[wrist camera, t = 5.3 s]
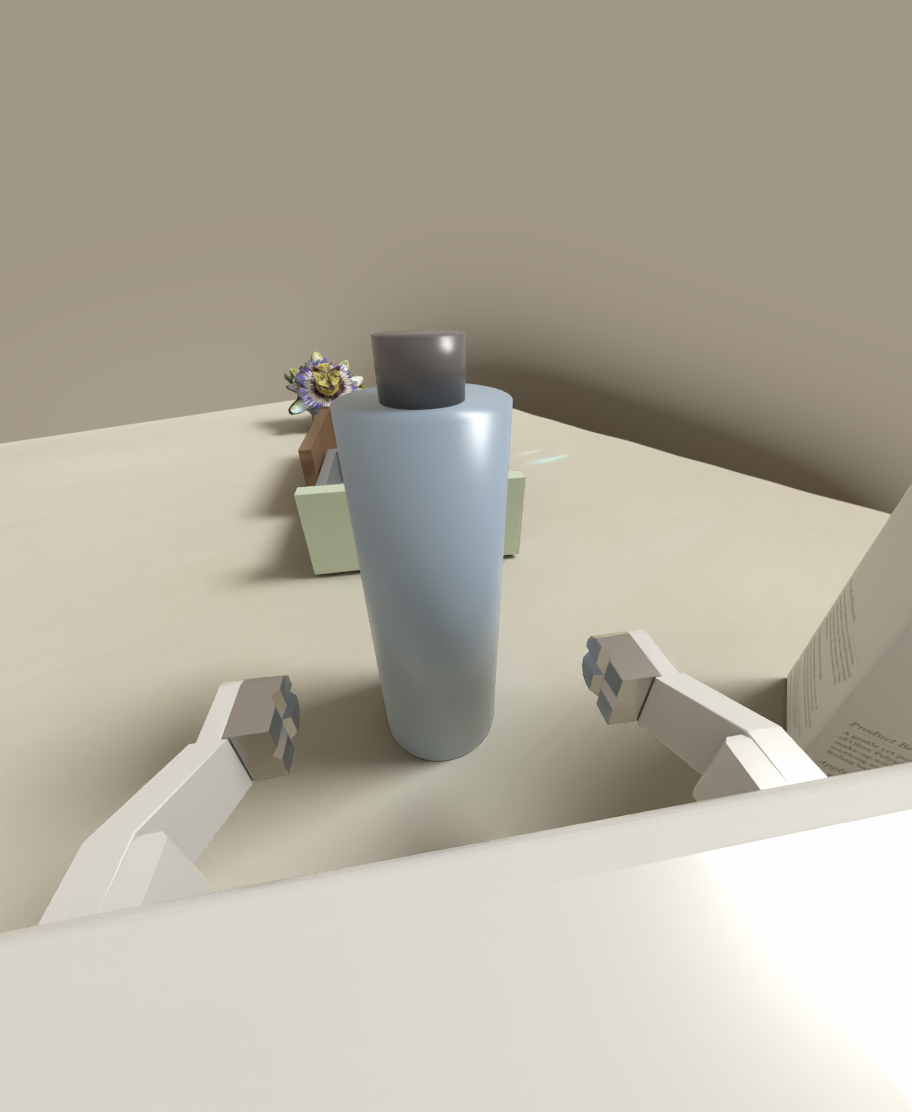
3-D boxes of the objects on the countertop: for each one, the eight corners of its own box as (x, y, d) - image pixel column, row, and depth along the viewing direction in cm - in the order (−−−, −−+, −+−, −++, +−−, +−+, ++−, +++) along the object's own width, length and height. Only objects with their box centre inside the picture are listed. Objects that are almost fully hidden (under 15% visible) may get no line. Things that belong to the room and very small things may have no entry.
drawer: (315, 575, 27) (293, 495, 24) (335, 488, 40) (323, 426, 36) (518, 555, 29) (525, 477, 26) (477, 477, 42) (478, 417, 38)
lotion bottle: (388, 770, 16) (301, 348, 8) (386, 674, 21) (328, 329, 12) (505, 751, 17) (545, 339, 8) (481, 661, 21) (491, 324, 12)
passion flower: (343, 466, 60) (285, 410, 50) (316, 436, 67) (259, 381, 57) (396, 415, 61) (349, 349, 51) (364, 390, 67) (316, 327, 57)
